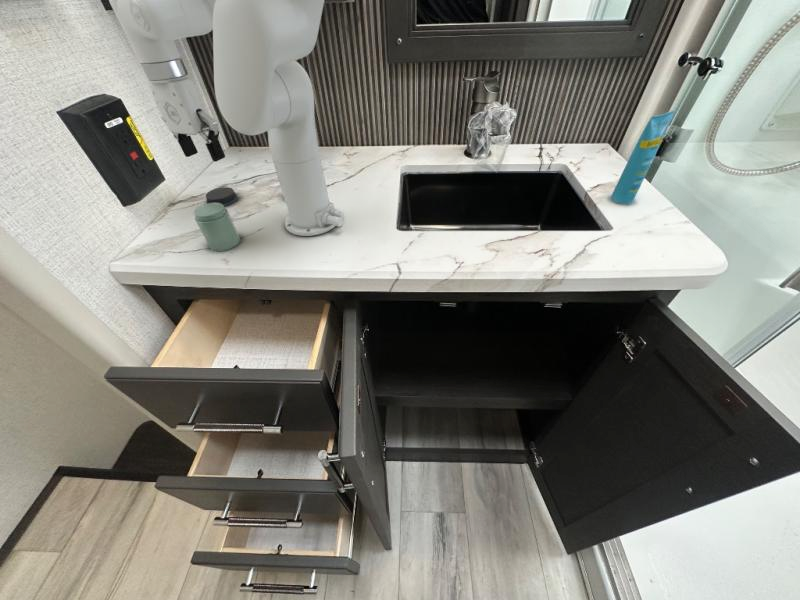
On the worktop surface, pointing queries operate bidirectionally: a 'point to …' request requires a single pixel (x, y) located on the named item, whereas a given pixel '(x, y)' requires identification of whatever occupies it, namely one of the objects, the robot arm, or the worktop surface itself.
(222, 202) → the lid
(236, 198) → the coaster
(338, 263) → the worktop surface
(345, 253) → the worktop surface
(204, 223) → the jar
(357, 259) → the worktop surface
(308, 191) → the robot arm
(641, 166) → the tube
